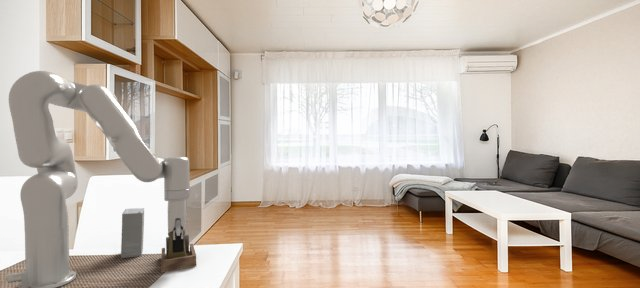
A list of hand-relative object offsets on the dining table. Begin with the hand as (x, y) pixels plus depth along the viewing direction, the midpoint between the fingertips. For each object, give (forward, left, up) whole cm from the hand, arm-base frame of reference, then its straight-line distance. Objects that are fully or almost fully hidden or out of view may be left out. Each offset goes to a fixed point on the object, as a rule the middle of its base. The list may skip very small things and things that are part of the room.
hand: (177, 247), depth 103 cm
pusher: (0, +9, -6) cm, 10 cm away
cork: (0, +1, -5) cm, 5 cm away
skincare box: (-14, +19, -6) cm, 24 cm away
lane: (0, +3, -6) cm, 6 cm away
